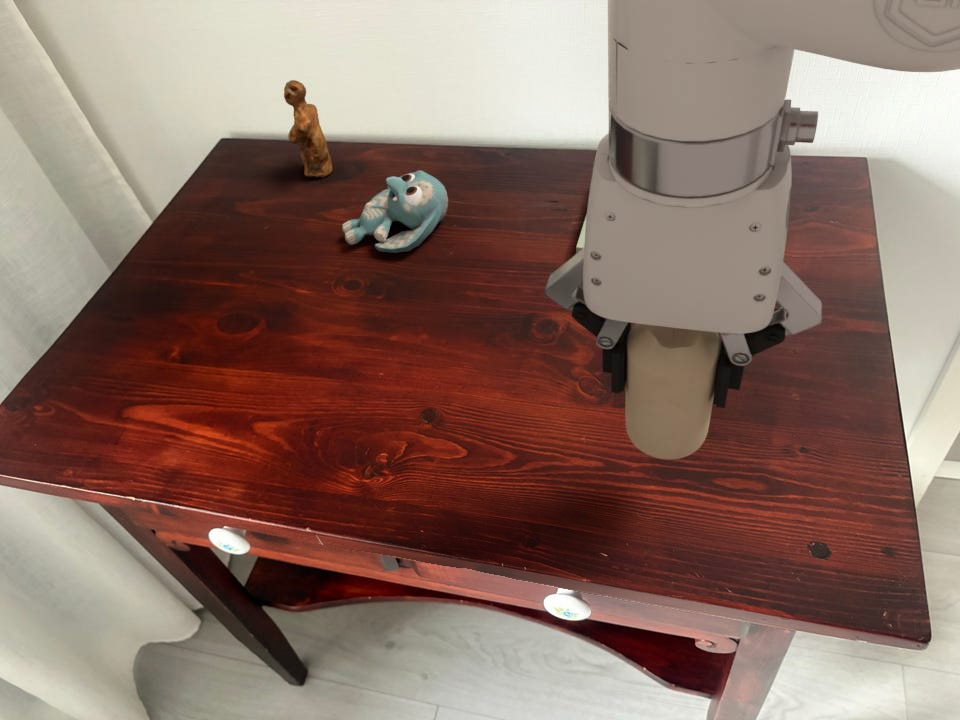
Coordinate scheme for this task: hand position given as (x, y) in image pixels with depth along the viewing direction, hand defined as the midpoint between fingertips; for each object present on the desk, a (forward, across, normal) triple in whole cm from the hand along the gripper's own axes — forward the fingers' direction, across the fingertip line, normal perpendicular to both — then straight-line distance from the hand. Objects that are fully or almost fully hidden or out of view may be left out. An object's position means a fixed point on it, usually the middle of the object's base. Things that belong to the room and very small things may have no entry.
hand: (670, 381), depth 48 cm
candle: (+5, 0, 0) cm, 5 cm away
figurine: (+13, +46, -36) cm, 60 cm away
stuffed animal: (+13, +32, -27) cm, 44 cm away
